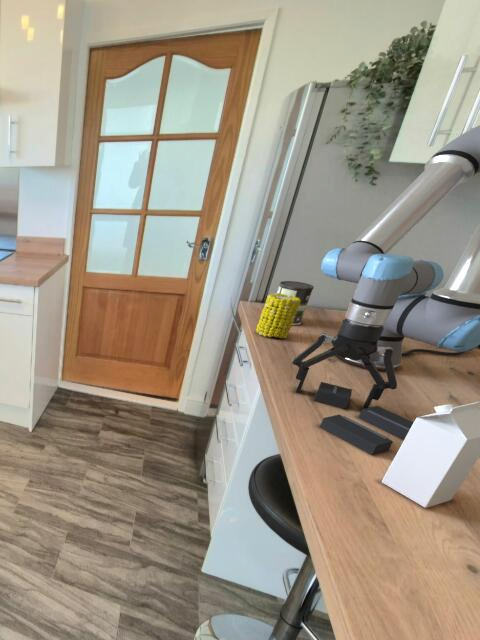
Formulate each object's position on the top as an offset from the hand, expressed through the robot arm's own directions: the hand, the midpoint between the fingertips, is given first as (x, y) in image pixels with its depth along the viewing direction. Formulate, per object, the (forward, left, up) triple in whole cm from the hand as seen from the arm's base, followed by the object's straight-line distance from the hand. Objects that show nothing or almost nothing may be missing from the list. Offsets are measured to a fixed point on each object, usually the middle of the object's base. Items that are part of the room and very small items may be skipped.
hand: (330, 399), depth 110 cm
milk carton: (+19, +29, 0) cm, 35 cm away
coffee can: (-43, -48, 0) cm, 65 cm away
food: (-26, -39, 0) cm, 47 cm away
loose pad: (0, 0, 0) cm, 0 cm away
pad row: (+6, +14, 0) cm, 15 cm away
